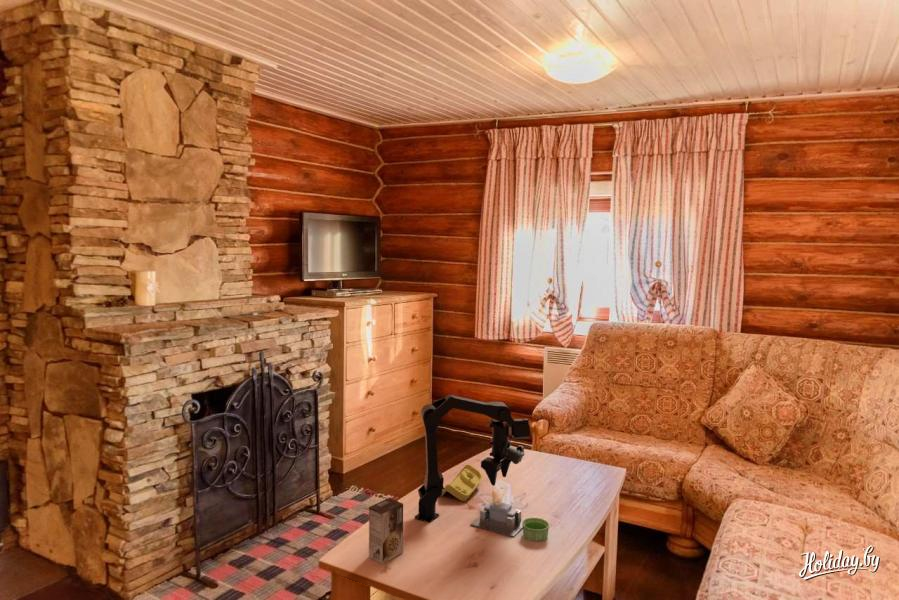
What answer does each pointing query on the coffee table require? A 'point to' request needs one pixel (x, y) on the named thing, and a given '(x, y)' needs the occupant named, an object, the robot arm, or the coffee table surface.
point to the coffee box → (385, 530)
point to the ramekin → (535, 529)
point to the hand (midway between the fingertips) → (498, 481)
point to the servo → (500, 511)
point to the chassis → (508, 529)
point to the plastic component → (464, 483)
